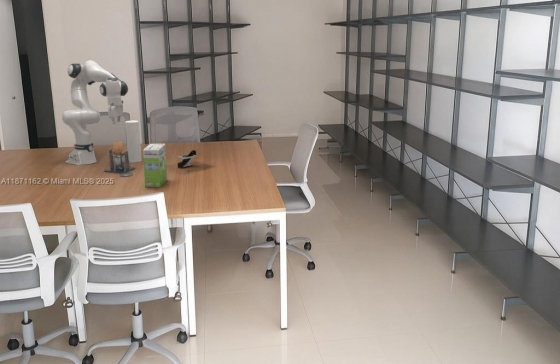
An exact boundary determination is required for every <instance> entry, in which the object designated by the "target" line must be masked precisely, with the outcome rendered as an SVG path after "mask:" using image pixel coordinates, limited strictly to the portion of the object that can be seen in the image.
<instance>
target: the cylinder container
mask: <svg viewBox="0 0 560 364" xmlns="http://www.w3.org/2000/svg"><path fill="white" fill-rule="evenodd" d="M124 124H125V125H124V126H125V136H126V147H127V151H128V156H129V163H140V162H142V161H143V159H142V149H141V148H142V147H141V146H142V145H141V135H140V133H141V132H140V126H139V125H140V123H139V120H134V119H133V120H126V121H125V122H124Z"/></svg>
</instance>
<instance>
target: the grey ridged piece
mask: <svg viewBox="0 0 560 364" xmlns="http://www.w3.org/2000/svg"><path fill="white" fill-rule="evenodd" d="M111 151H114V148H112V149H108V157H109V158H108V159H109V167H110V168H106V169H104V172H105V173H113V174H117V175H119V174H121V173H127V172H129V173H130V172H132V171H135V170H136V167H132V166H130V162H129V156H128V150H125V151H123V152H124V154H120V155H115V154H114V153H111Z"/></svg>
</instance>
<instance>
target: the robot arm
mask: <svg viewBox="0 0 560 364" xmlns="http://www.w3.org/2000/svg"><path fill="white" fill-rule="evenodd" d="M67 75H68V76H69V77H70V78H72V79H73V80H72V81H71V83H70V96H71V104H72V105H73V106H75V107H76V108H79V109H69V110H65V111H63V113H62V115H61V120H62V122H63V123H64V124H65V125H66V126H68V127H69V128H70V129H72V132H73V133H74V137H75V144H74V149H73V150H72V151H71V152H70V153H69V154H68V159H67V160H65V163H66V164H71V165H74V166H82V165H90V164H94V163H97V162H98V161H97V158H96V155H95V151H94V142H93V136H92V135H93V134H92V132H91V131H90V130H89V129H86V128H83V126H82V125H94V124H98V123H99V122H100V120H101V113H100V112H99V110H98V109H97V108H95V107H93V106H92V105H91V104H90V101H89V97H88V90H87V86H88V85H89V86H92V85H93V84H95V83H101V84H100V85H99V93H100V95H101V96H103V97H104V98H105V97H106V98H107V105H108V107H107V112H108V113H107V115H108V119H111V121H112V125H116V124H117V123H120V122H121V115H123V114H124V105H123V104H124V100H122V97H125V96H126V95H127V94H128V92H129V87H128V84H127V83H126V82H125V81H124V80H121V79H120V78H118V77H117V76H116V75H115V74H114V73H113V72H110V71H108V70H106V69H105V68H103V67H101V66H100V64H98V63H97V62H96V61H95V60H91V59H89V60H87V61H85V62H84V63H83V64H80V63H70V65H68V68H67ZM116 118H117V119H116Z"/></svg>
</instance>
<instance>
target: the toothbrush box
mask: <svg viewBox="0 0 560 364" xmlns="http://www.w3.org/2000/svg"><path fill="white" fill-rule="evenodd" d="M166 151H167V149H166V143H149V144H148V145H147V146H146V147H144V149H143V150H142V153H143V154H142V155H143V174H144V176H143V177H144V187H145V188H161V187H163V185H164V184H165V182H166V181H167V180H168V173H167V171H168V170H167V154H166Z"/></svg>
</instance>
